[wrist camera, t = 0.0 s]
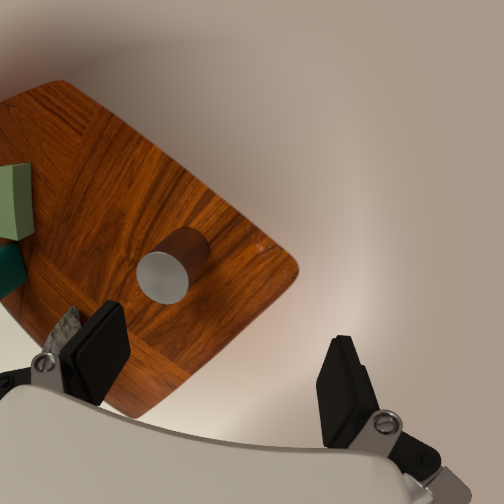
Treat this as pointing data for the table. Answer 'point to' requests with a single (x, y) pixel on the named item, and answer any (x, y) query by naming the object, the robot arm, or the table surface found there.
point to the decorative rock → (63, 331)
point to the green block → (16, 201)
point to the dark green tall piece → (11, 268)
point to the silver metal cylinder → (172, 265)
